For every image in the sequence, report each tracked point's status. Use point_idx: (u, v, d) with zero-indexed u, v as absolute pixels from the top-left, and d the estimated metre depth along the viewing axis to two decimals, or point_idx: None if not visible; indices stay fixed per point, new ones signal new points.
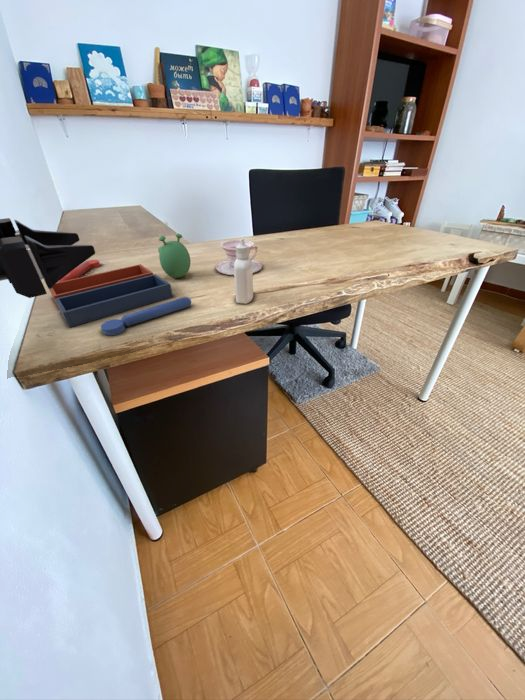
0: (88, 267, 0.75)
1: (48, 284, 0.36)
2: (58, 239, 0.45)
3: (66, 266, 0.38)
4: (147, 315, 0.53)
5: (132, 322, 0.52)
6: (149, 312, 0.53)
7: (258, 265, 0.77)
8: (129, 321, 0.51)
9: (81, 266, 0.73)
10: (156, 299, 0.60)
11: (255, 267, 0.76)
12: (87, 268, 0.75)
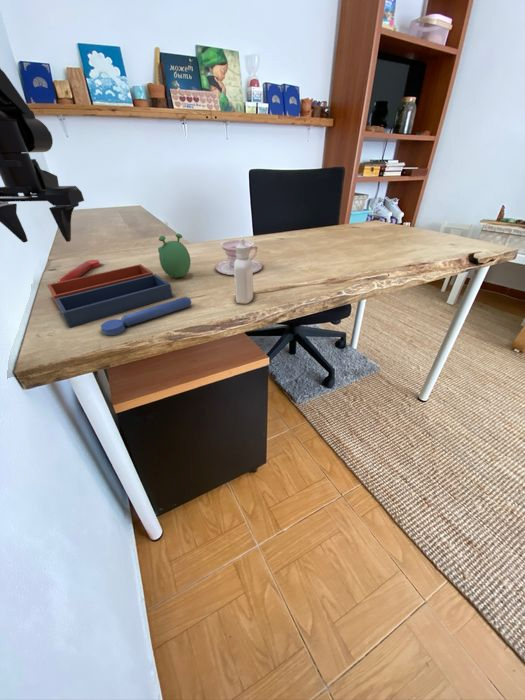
0: (88, 267, 0.75)
1: (66, 207, 0.56)
2: (19, 228, 0.61)
3: (64, 222, 0.59)
4: (147, 315, 0.53)
5: (132, 322, 0.52)
6: (149, 312, 0.53)
7: (258, 265, 0.77)
8: (129, 321, 0.51)
9: (81, 266, 0.73)
10: (156, 299, 0.60)
11: (255, 267, 0.76)
12: (87, 268, 0.75)
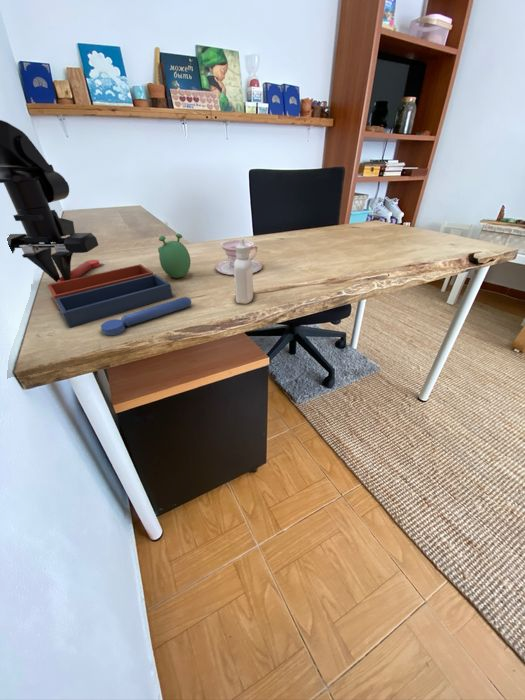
0: (88, 267, 0.75)
1: (66, 254, 0.62)
2: (53, 269, 0.66)
3: (64, 265, 0.64)
4: (147, 315, 0.53)
5: (132, 322, 0.52)
6: (149, 312, 0.53)
7: (258, 265, 0.77)
8: (129, 321, 0.51)
9: (81, 266, 0.73)
10: (156, 299, 0.60)
11: (255, 267, 0.76)
12: (87, 268, 0.75)
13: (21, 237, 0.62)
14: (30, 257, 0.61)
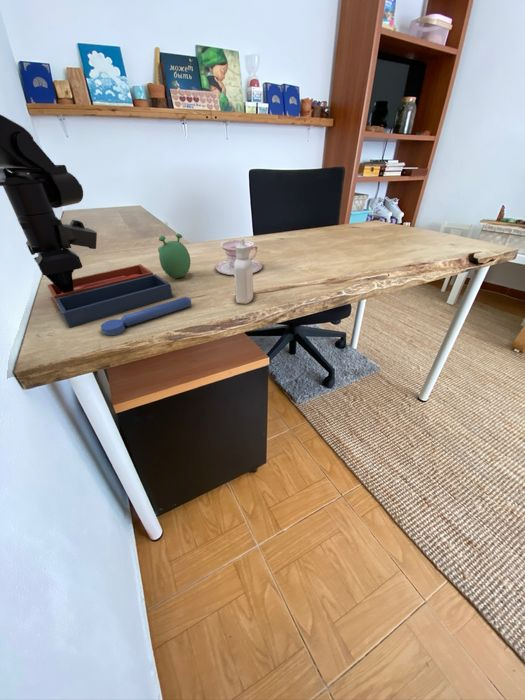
0: None
1: None
2: None
3: (58, 282, 0.56)
4: (147, 315, 0.53)
5: (132, 322, 0.52)
6: (149, 312, 0.53)
7: (258, 265, 0.77)
8: (129, 321, 0.51)
9: (108, 280, 0.64)
10: (156, 299, 0.60)
11: (255, 267, 0.76)
12: None
13: None
14: (36, 261, 0.58)
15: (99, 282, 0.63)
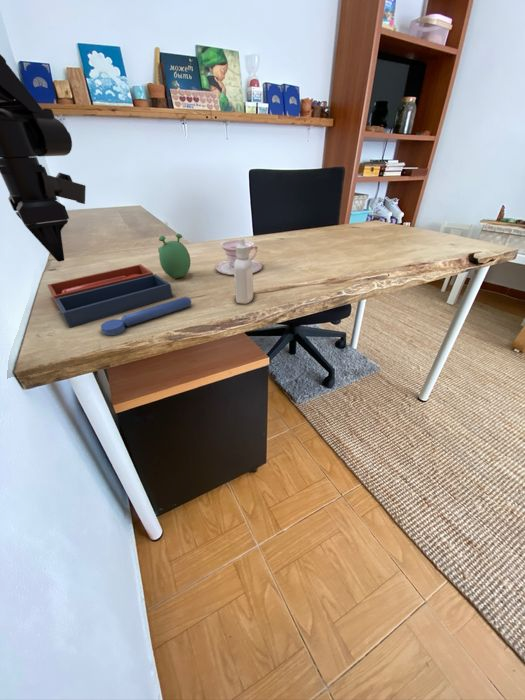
0: None
1: (31, 226, 0.46)
2: None
3: (45, 240, 0.49)
4: (147, 315, 0.53)
5: (132, 322, 0.52)
6: (149, 312, 0.53)
7: (258, 265, 0.77)
8: (129, 321, 0.51)
9: (108, 280, 0.64)
10: (156, 299, 0.60)
11: (255, 267, 0.76)
12: None
13: None
14: (17, 215, 0.55)
15: (99, 282, 0.63)
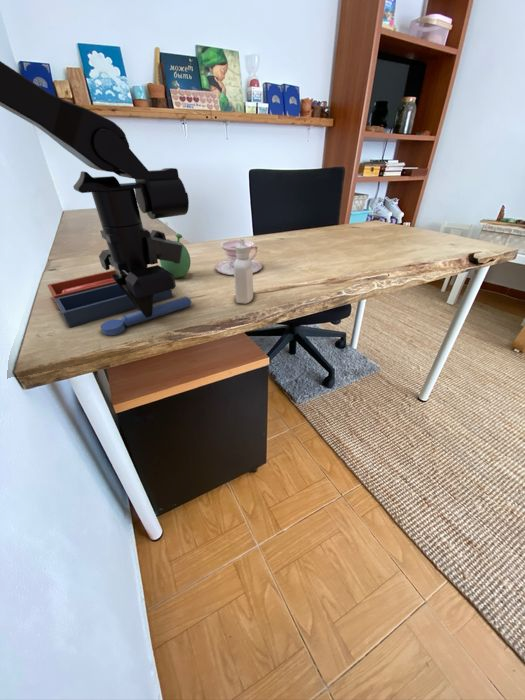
0: None
1: None
2: None
3: (139, 300, 0.49)
4: None
5: (132, 322, 0.52)
6: None
7: (258, 265, 0.77)
8: (129, 321, 0.51)
9: (108, 280, 0.64)
10: (156, 299, 0.60)
11: (255, 267, 0.76)
12: None
13: None
14: (114, 279, 0.50)
15: (99, 282, 0.63)
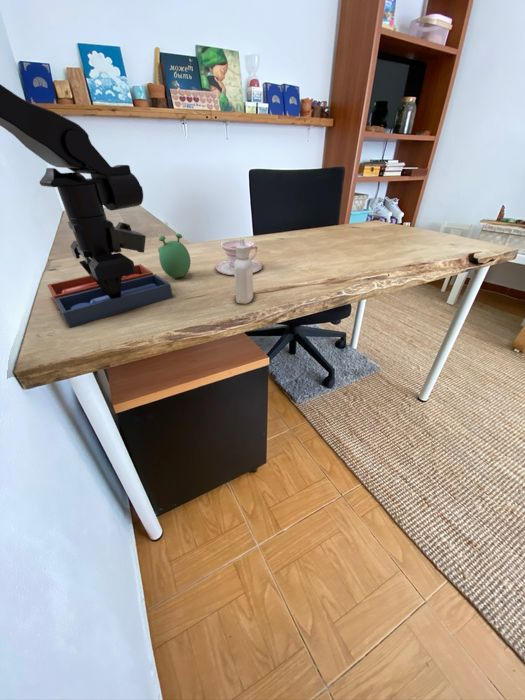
0: None
1: None
2: None
3: (107, 287, 0.53)
4: None
5: None
6: None
7: (258, 265, 0.77)
8: None
9: None
10: (156, 299, 0.60)
11: (255, 267, 0.76)
12: None
13: None
14: (82, 265, 0.56)
15: None
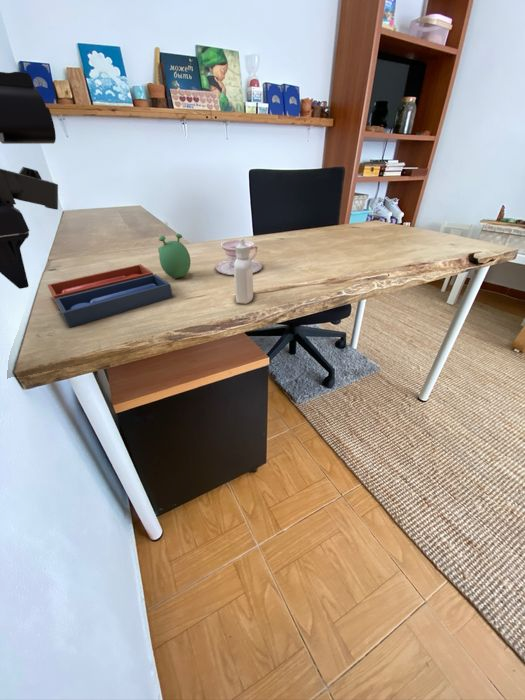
0: None
1: None
2: None
3: None
4: None
5: None
6: (116, 296, 0.58)
7: (258, 265, 0.77)
8: None
9: (108, 280, 0.64)
10: (156, 299, 0.60)
11: (255, 267, 0.76)
12: None
13: None
14: None
15: (99, 282, 0.63)
